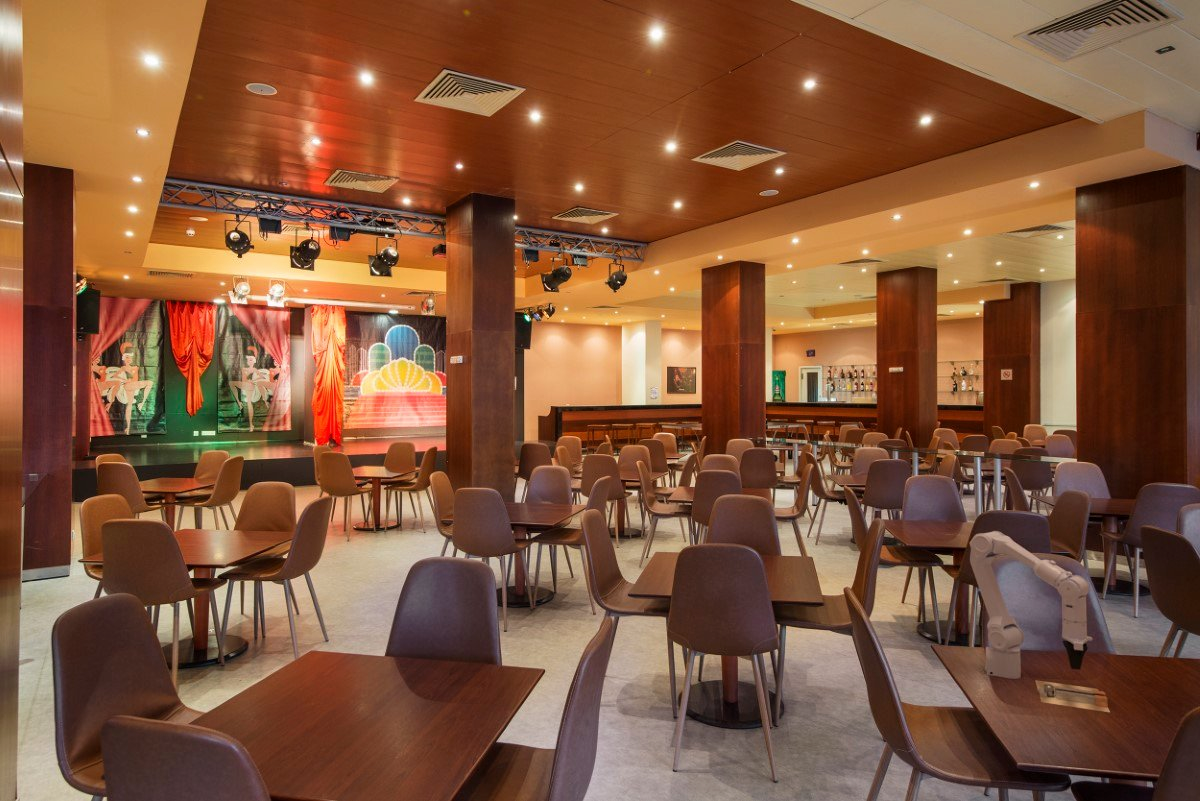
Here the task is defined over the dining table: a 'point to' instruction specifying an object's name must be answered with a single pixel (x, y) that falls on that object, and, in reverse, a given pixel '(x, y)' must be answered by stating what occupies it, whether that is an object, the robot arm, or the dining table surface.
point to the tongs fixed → (1073, 696)
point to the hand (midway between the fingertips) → (1075, 668)
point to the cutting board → (1069, 703)
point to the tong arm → (1080, 691)
